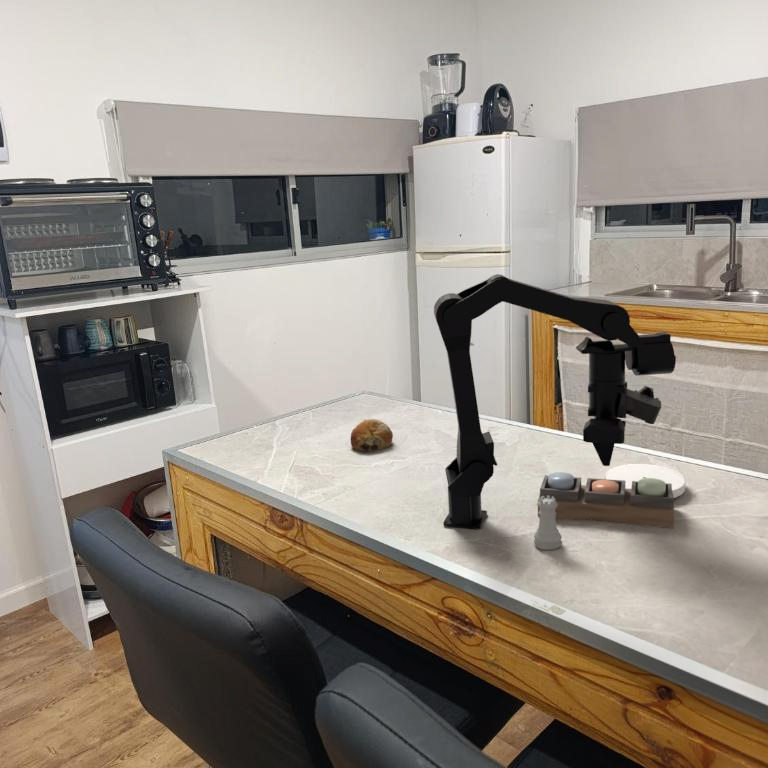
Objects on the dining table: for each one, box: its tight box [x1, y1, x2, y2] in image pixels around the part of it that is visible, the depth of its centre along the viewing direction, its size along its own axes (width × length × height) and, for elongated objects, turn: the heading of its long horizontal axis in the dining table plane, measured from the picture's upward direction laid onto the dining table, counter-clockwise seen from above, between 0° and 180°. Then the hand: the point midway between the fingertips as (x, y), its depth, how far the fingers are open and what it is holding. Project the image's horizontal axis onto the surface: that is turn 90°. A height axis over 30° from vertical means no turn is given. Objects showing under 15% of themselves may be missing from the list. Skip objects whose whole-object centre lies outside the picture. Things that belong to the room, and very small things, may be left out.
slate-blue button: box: [547, 471, 574, 490], centre depth 125 cm, size 4×4×2 cm
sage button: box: [638, 478, 666, 497], centre depth 119 cm, size 4×4×2 cm
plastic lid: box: [604, 463, 686, 499], centre depth 131 cm, size 14×14×2 cm
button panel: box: [537, 474, 675, 529], centre depth 123 cm, size 8×22×5 cm, turn 70°
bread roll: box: [350, 418, 394, 453], centre depth 166 cm, size 10×10×8 cm
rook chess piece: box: [533, 496, 563, 551], centre depth 112 cm, size 4×4×8 cm
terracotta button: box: [592, 480, 619, 494], centre depth 122 cm, size 4×4×2 cm
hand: (606, 465), depth 121 cm, fingers closed
